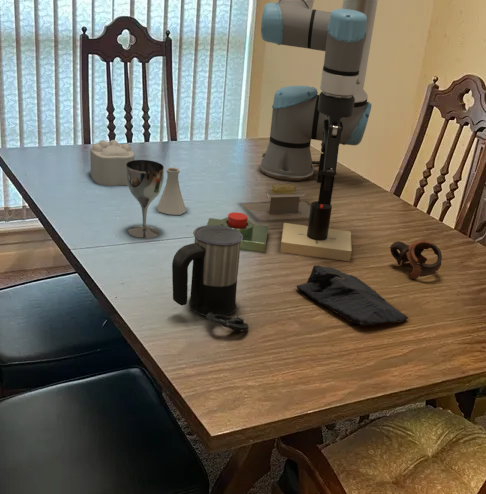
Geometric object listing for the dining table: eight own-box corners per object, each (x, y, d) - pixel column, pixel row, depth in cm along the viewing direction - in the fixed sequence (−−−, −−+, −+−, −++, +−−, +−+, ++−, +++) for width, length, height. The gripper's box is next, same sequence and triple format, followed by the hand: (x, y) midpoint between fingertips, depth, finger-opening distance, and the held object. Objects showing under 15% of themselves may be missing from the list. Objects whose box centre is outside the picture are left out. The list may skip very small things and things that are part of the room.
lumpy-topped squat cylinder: (97, 186, 194) (96, 151, 189) (86, 169, 204) (84, 135, 199) (137, 185, 199) (138, 151, 194) (124, 168, 208) (124, 135, 203)
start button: (247, 222, 177) (248, 213, 176) (245, 229, 173) (246, 220, 172) (228, 219, 177) (229, 211, 175) (226, 226, 173) (227, 218, 172)
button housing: (267, 234, 182) (269, 218, 179) (264, 252, 173) (266, 235, 170) (208, 226, 181) (209, 210, 179) (202, 244, 172) (203, 227, 170)
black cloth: (353, 336, 145) (357, 314, 143) (290, 287, 160) (293, 266, 157) (413, 322, 153) (418, 301, 150) (349, 277, 167) (352, 256, 165)
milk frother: (208, 291, 154) (212, 220, 145) (274, 317, 148) (283, 244, 140) (163, 315, 143) (165, 240, 135) (233, 344, 137) (239, 268, 129)
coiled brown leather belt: (435, 267, 179) (450, 246, 171) (424, 297, 174) (439, 277, 167) (389, 245, 178) (401, 223, 171) (376, 275, 174) (389, 253, 166)
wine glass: (168, 231, 176) (170, 166, 168) (149, 241, 170) (150, 174, 161) (139, 222, 178) (140, 157, 170) (119, 232, 172) (118, 165, 164)
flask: (189, 207, 190) (191, 167, 184) (183, 217, 184) (184, 176, 178) (160, 203, 190) (161, 162, 184) (153, 213, 184) (154, 171, 178)
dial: (307, 231, 180) (311, 198, 175) (327, 233, 180) (332, 201, 175) (306, 238, 176) (310, 205, 171) (327, 241, 176) (332, 208, 171)
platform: (241, 203, 196) (243, 178, 193) (304, 201, 203) (307, 177, 200) (258, 221, 188) (260, 195, 184) (323, 218, 195) (327, 193, 191)
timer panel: (348, 241, 184) (350, 230, 183) (349, 261, 174) (351, 250, 173) (282, 232, 184) (284, 222, 182) (280, 252, 174) (281, 241, 172)
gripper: (359, 111, 150) (342, 215, 162) (352, 82, 170) (337, 176, 183) (321, 106, 149) (307, 211, 162) (318, 77, 170) (306, 172, 182)
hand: (323, 193), depth 172 cm, fingers open, 13 cm apart
